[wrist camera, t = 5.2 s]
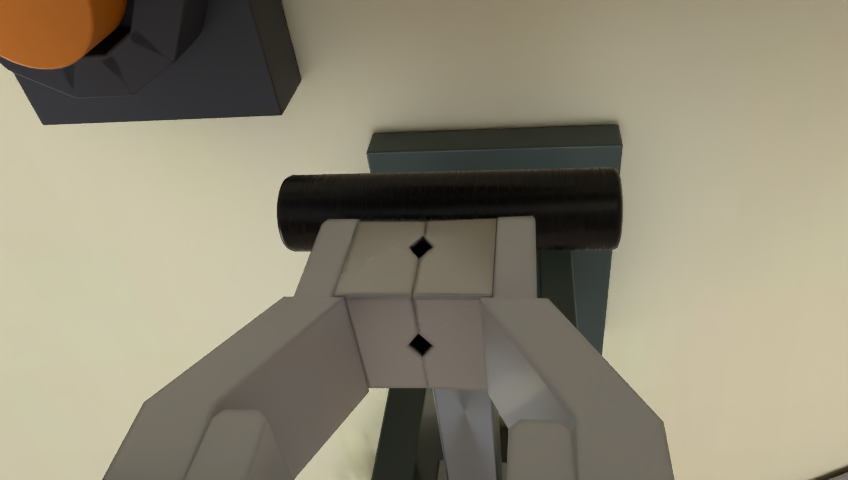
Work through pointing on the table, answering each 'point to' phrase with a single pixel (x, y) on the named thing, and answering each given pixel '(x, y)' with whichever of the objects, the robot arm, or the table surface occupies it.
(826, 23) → the table surface
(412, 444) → the bracket
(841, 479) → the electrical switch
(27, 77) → the control block
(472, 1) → the table surface
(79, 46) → the button
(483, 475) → the switch lever
